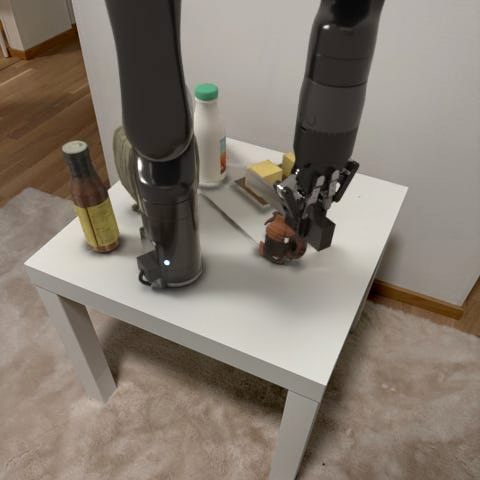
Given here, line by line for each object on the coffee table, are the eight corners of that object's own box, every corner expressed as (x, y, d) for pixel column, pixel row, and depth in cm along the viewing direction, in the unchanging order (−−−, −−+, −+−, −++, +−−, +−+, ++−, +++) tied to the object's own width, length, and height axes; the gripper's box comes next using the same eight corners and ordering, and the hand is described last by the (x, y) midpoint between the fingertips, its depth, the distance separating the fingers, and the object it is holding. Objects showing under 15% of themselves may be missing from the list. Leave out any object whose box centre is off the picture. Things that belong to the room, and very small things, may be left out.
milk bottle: (213, 192, 97) (211, 99, 82) (185, 181, 100) (178, 89, 84) (232, 176, 101) (233, 85, 86) (204, 166, 104) (201, 75, 89)
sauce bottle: (125, 234, 87) (103, 137, 72) (116, 255, 83) (91, 157, 68) (92, 231, 87) (64, 135, 72) (82, 252, 83) (50, 154, 68)
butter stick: (258, 197, 94) (260, 178, 91) (245, 185, 97) (245, 167, 93) (280, 188, 96) (282, 169, 93) (266, 177, 99) (268, 159, 95)
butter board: (262, 211, 93) (263, 205, 92) (233, 186, 99) (233, 180, 98) (322, 187, 100) (324, 181, 99) (292, 165, 105) (292, 159, 104)
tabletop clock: (185, 189, 98) (176, 67, 78) (206, 211, 93) (201, 86, 74) (124, 209, 92) (98, 83, 73) (142, 233, 87) (119, 105, 68)
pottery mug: (246, 246, 87) (260, 205, 83) (283, 253, 92) (298, 215, 89) (278, 271, 78) (295, 226, 75) (317, 277, 83) (335, 236, 80)
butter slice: (294, 182, 98) (297, 164, 94) (280, 172, 100) (282, 154, 97) (301, 180, 99) (304, 161, 95) (287, 170, 101) (289, 151, 98)
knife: (318, 252, 63) (323, 229, 60) (241, 186, 74) (242, 164, 70) (330, 246, 64) (336, 224, 61) (253, 182, 74) (255, 160, 71)
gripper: (350, 90, 57) (325, 204, 70) (262, 116, 52) (254, 233, 65) (393, 114, 53) (358, 229, 66) (303, 143, 48) (285, 263, 61)
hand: (307, 231), depth 66 cm, fingers closed on knife, 2 cm apart
